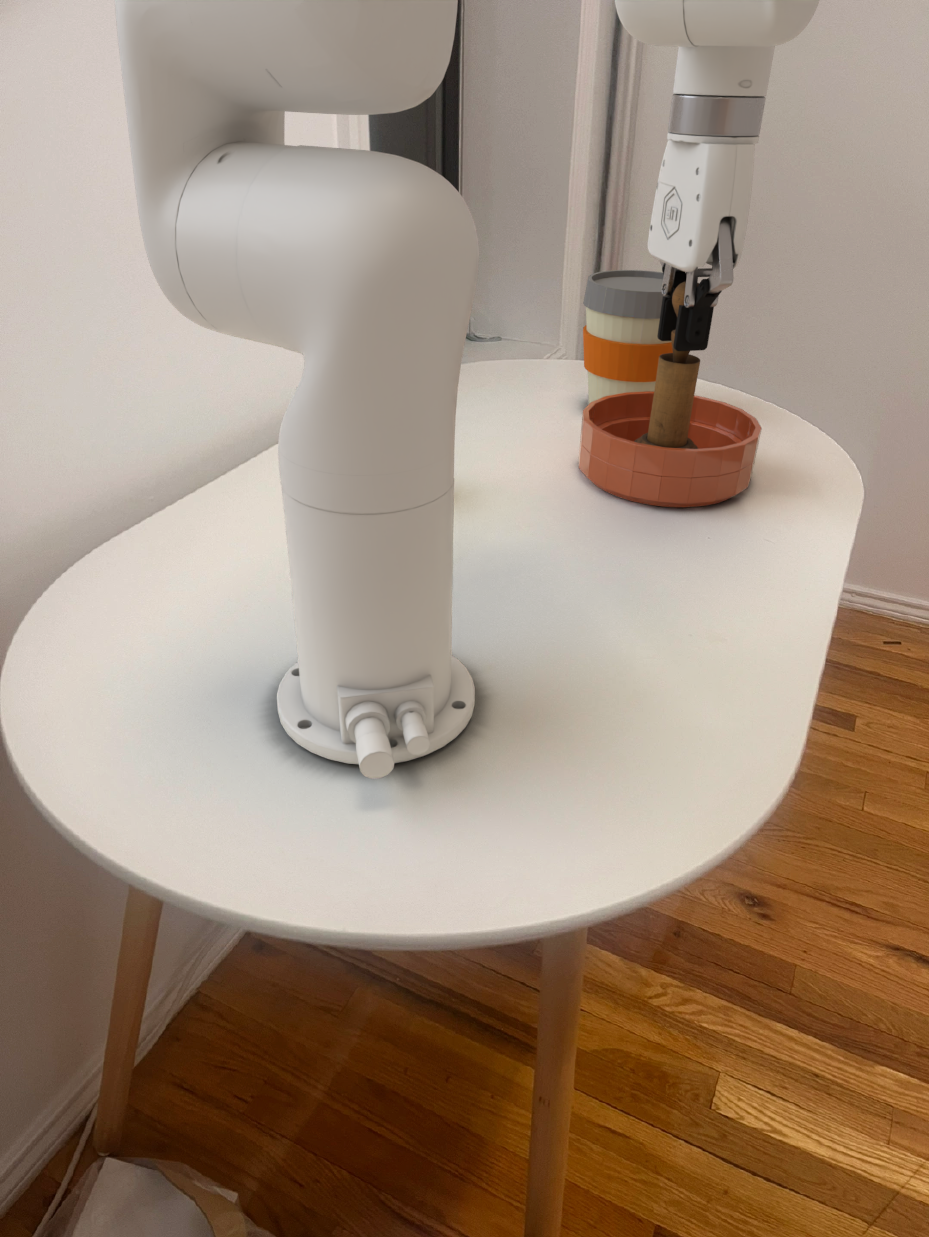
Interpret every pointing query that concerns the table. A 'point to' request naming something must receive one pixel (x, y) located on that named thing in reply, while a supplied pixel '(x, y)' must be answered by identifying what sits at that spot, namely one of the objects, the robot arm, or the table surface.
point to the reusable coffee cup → (622, 332)
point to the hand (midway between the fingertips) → (681, 343)
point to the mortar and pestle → (673, 393)
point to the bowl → (667, 452)
